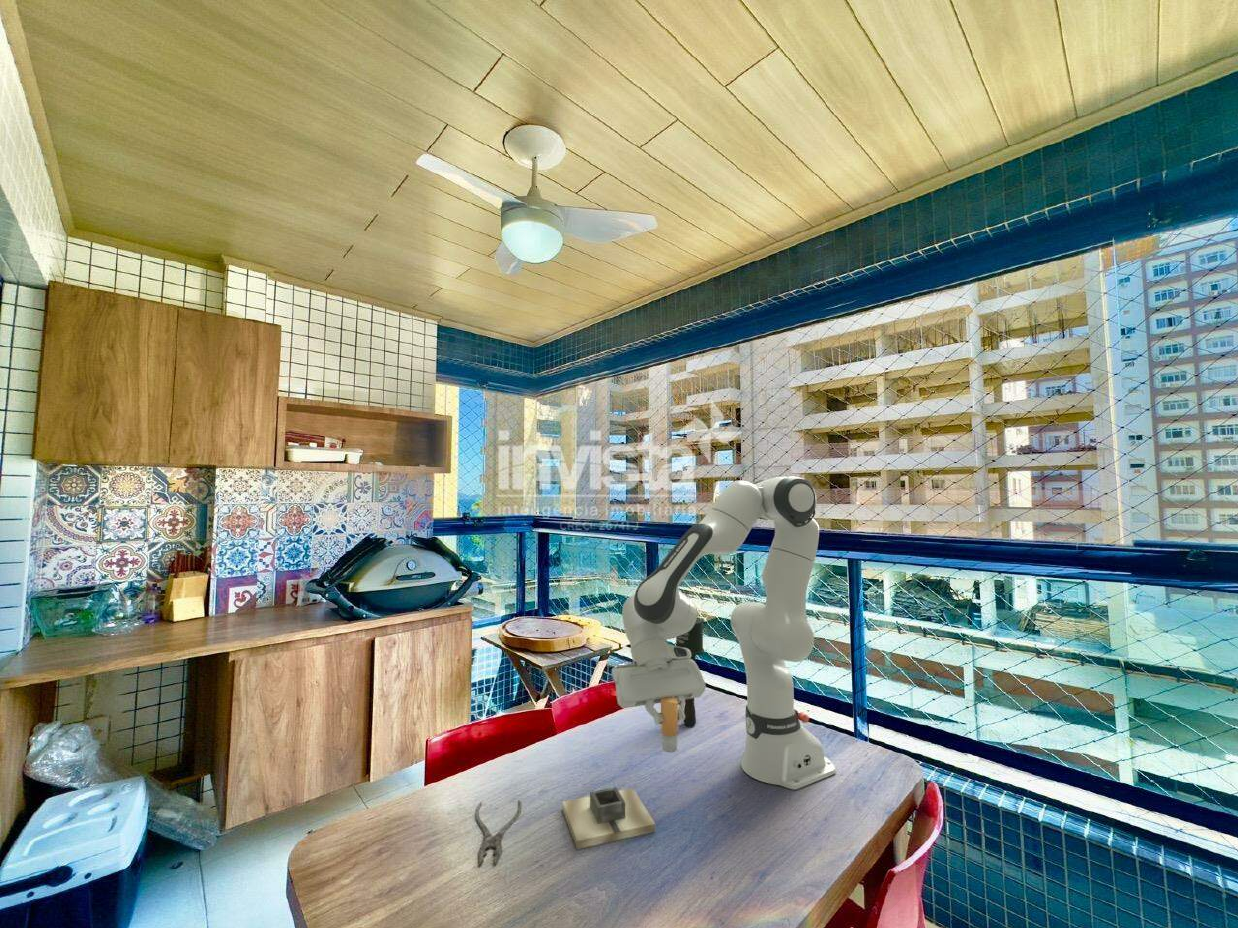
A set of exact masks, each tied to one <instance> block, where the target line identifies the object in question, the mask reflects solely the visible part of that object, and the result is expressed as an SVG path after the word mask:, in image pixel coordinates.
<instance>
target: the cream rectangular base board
mask: <svg viewBox="0 0 1238 928" xmlns="http://www.w3.org/2000/svg"><path fill="white" fill-rule="evenodd" d="M561 809H562V812H563V815H564V817H565V821H566V823H567V826H568V829H569V831H570V834H571V837H572V839H573V842H574V845H575V848H576V850H581V849H584V848H585V849H586V848H590V847H594V846H598V845H602V844H607V843H611V842H615V841H620V840H624V839H630V838H633V837H638V836H642V835H647V834H650V833H655V832H656V823H655V821H654V819H653V818H652V816H651V815H650V813H649V812H648V810H647V809H646V807H645V805H644V804H643V802H642V800H641V799H640V797H639V795H638V794H637V793H636V791H635V790H634V788H633V787H632V788H627V789H621V790H620V789H618V787H616V786H614V787H610V788H609V787H608V788H604V789H599V790H593V791H589V796H585V797H579V798H573V799H569V800H564V801H562V803H561Z"/></svg>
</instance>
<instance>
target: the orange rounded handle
mask: <svg viewBox="0 0 1238 928" xmlns="http://www.w3.org/2000/svg"><path fill="white" fill-rule="evenodd" d="M678 709H679V705H678V700H677V699H675V698H672V697H665V698H662V699H661V703H660V713H662V715H663V716H662V717H663V719H664V722H663V723H662V724H660V733H661V734H662V751H663V752H666V753H669V754H671V753H675V752H676V751H677V749H678V742H677V740H678V739H677V737H678V735H679V734H678V733H679V721H678Z"/></svg>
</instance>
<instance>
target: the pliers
mask: <svg viewBox="0 0 1238 928" xmlns="http://www.w3.org/2000/svg"><path fill="white" fill-rule="evenodd" d="M522 803H523V802H522V800H521V799H519V800H518V809H517V811H516V813H515V815H514V816H513V818H512V819H510V820H508V822H507V823H506V824H505V825H504V826H502V827H501V829H499V831H498V832H497V833H496V834H494V835H492V834H491V832H490V830H489V829H488V827H487V826H486V824H484V823H483V821H482V820H481V817H480V810H481V808H482V806H483V802H482V801H481V802H480V803H479V804H478V805H477V807H476V809H475V812H474V813H475V822H476V823H477V826H478V827H479V828H480V830H481V832H482V833H483V841H482V843H481V846H480V848H479V850H478V853H477V857H478V868H481V867H482V865H483V863H484V859H485V858H486V857H487V855H488V853H487V851H490V849H492V850H494V851H493V863H494V864H493V865H494V867H496V866H497V864H498V863H499V861H500V858H501V856H502V855H503V854H502V853H503V848H502V847H503V845H502V844H503V843H502V841H503V837H504V835H505V833H507V830H509V828H511V826H512V825H513V824H514V823H515V822H516V821H517V820H518V818H519V817H520V815H521V813H522V809H523V804H522Z"/></svg>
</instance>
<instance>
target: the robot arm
mask: <svg viewBox="0 0 1238 928" xmlns="http://www.w3.org/2000/svg"><path fill="white" fill-rule="evenodd" d="M816 506H817V493H816V490H815V488H814V486H813V485H812V483H811V482H810V481H808V480H807V479H805V478H802V477H798V476H795V475H793V476H792V475H791V476H777V477H772V478H768V479H762V480H757V481H755V482H754V483H751V482H750V481H747V480H735V481H734V480H733V481H732V482H731V483H729V484H728V486H726V488H725V489H724V490H723V491H722V492H721V493H720V495H719V496H718V497H717V499H716V500H715V501H714V502H713V504H712V506H711V507H710V509H709V511H708V512H707V513H706V514H705V516H704V518H702V519H701V520H700V522H698V523H696V524H694V525H693V526H691V527H690V528H689V529H687V531H686V532H685V533H684V534H683V535H682V536H681V538H680V539H679V540H678V541H677V542H676V544H675V545H674V547H673V548H672V549H671V550H670V551H669V552H668V554H667V555H666V556H665V558H664V559H663V560H662V562H660V564H659V565H658V566H657V567H656V569H654V570H653V572H651V573H650V574H649V575H648V576H647V577H646V578H644V580H642V581H641V582H640V583H639V585H638V586H637V587H636V590H635V593H634V594H632V595H630V596H629V597H628V598H627V599H626V600H625V601H624V603H623V605H622V610H621V611H622V612H621V613H622V615H621V617H622V623H623V628H624V632H625V636H626V639H627V640H628V641H629V644H630V654H631V657H632V662H631V661H629V662H626V663H617V664H616V665H615V666H614V667H612V668H611V677H612V681H613V682H614V683H615V693H616V700H617V704H618V706H620V708H622V709H628V708H629V709H630V708H636V707H641V706H644V708H645V711H647V712H648V714H649V715H650V717H652V718H653V721H654V724H655V726H656V725H657V726H658V725H661V724H662V723H663V722H664V719H663V717H662V716H663V715H662V713H661V712H658V711H657V710H656V708H655V707H654V705H656V704H661V699H662V698H665V697H672V698H675V699H677V700H678V722H681V721H682V722H683V720H684V719H685V714H684V707H685V699H690V698H694V699H697V698H700V697H701V696H702V695H703V694H704V693H705V691H706V689H707V686H706V685H707V684H706V682H705V679H704V676H703V674H702V672H701V670H700V668H699V666H698V664H697V663H696V661H695V662H694V661H693V660H691V659H690V658H691V651H690V650H689V649H687V648H682V647H678V646H676V645H673V644H670V643H668V641H667V640H671V639H676V637H678V636H681V635H684V634H686V633H688V632H689V631H690V630H691V629H692V628H693V627H694V625H695V623H696V621H697V618H698V616H699V615H698V613H699V612H698V608H697V605H696V603H695V602H694V601H693V600H691V598H689V597H688V596H687V595H686V594H684V592H681V590H679V586H680V584H681V582H682V581H683V580H684V578H685V577H687V575H688V574H689V572H690V571H691V569H692V568H693V567H694V566H695V565H696V563H697V562H698V560H700V559H701V558H702V557H705V556H706V555H707V556H708V555H716V556H727V555H730V554H733V553H735V552H737V550H738V549H740V547H741V546H742V544H743V543H744V542H745V541H746V538H747V537H748V535H749V533H750V532H751V530H752V529H753V526H754V525H755V523H756V522H757V521H758V520H759V519H760V520H764V521H765V520H768V521H773V523H774V536H773V539H772V542H771V546H770V548H769V550H768V555H767V558H766V561H765V564H764V567H763V571H762V574H761V580H762V583H763V585H764V587H765V592H766V593H765V598H766V599H765V600H766V601H765V604H764V603H762V602H758V601H745V602H741V603H739V604H737V605H736V606H735V607H734V609H733V611H732V612H731V615H730V626H731V629H732V631H733V632H734V634H735V636H736V638H737V640H738V644H739V647H740V648H739V649H740V651H741V656H742V660H743V664H744V669H745V675H746V676H745V677H746V695H747V696H746V697H747V701H746V703H747V704H746V706H745V729H746V736H745V744H744V749H743V755H742V759H741V761H740V766H741V768H742V770H743V771H744V772H745V774H747V775H748V776H750V777H751V778H752V779H755V780H757V781H760V782H763V783H767V784H769V785H778V786H781V787H784V788H787V789H790V790H799V789H801V788H803V787H806V786H808V785H811V784H813V783H815V782H818V781H820V780H823V779H826V778H828V777H830V776H832V775H834V774H836V767H835V765H834V764H833V762H832V761H831V760H830V759H829V758H828V757H826V756H825V752H824V747H823V745H822V743H821V741H820V740H819V739H818V738H817V737H816V736H814V735H813V733H811V732H810V731H809V730H808V729H806V728H805V727H804V726H803V725H801V723H800V721H801V722H802V723H804V724H807V723H808V722H809V721H810V720H809V719H810V717H809V715H808V714H806V713H804V712H802V711H800V712H799V711H798V710H797V709H796V708H795V705H794V703H795V697H794V696H795V695H794V693H795V691H794V690H795V689H794V685H795V684H794V680H793V677H792V674H791V672H790V670H789V669H788V667H787V665H786V663H785V662H792V663H800V662H802V661H804V660H805V659H807V658H808V657H809V656H810V655H811V653H812V651H813V649H814V646H815V645H814V644H815V634H814V631H813V629H812V627H811V626H810V623H809V620H808V616H807V605H806V604H807V603H806V601H807V599H806V597H807V590H808V585H809V582H810V577H811V574H812V571H813V567H814V563H815V560H816V556H817V552H818V546H819V538H820V527H819V524H818V522H817V521H816V520H815V519H814V518H815V516H816V508H817V507H816Z"/></svg>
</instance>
